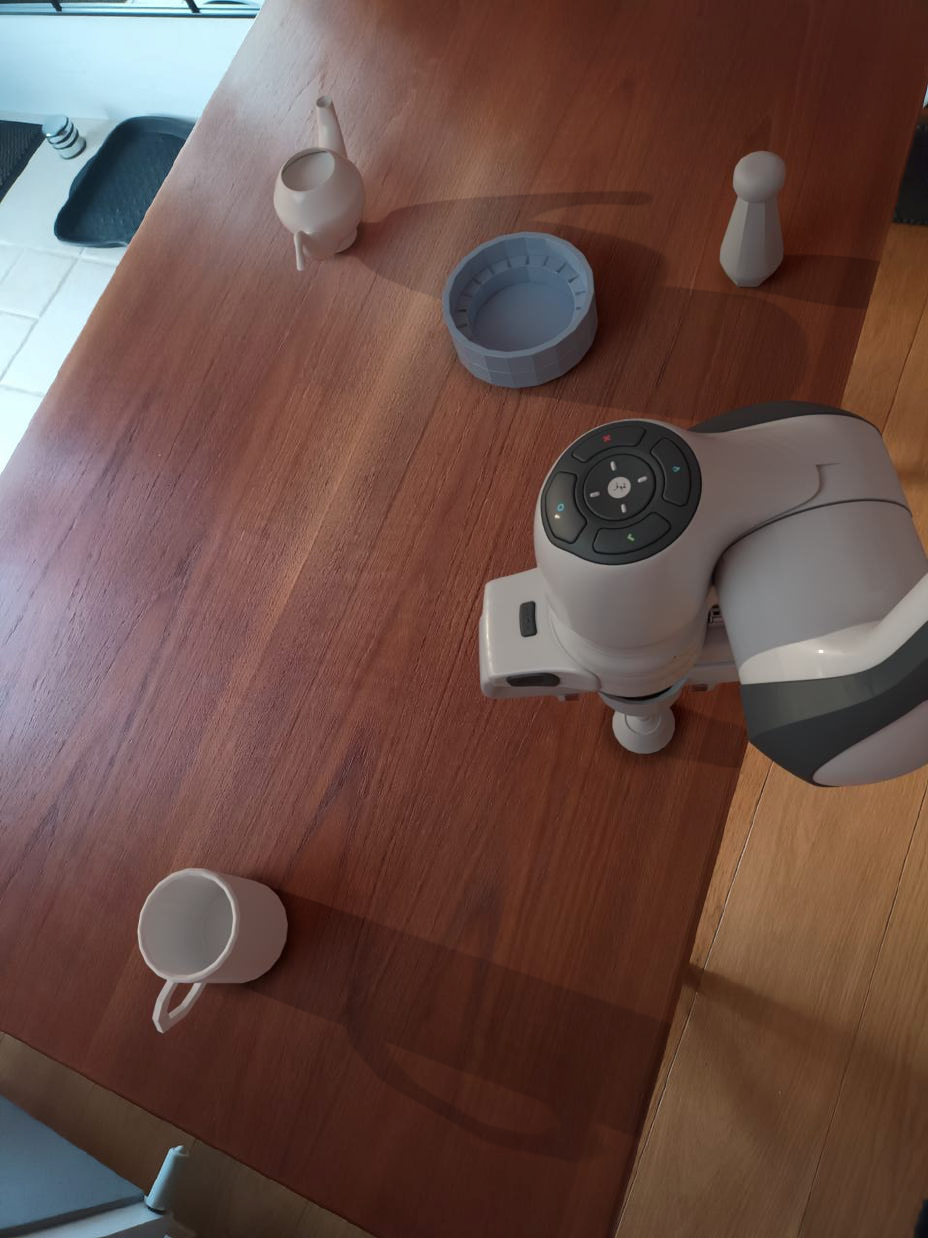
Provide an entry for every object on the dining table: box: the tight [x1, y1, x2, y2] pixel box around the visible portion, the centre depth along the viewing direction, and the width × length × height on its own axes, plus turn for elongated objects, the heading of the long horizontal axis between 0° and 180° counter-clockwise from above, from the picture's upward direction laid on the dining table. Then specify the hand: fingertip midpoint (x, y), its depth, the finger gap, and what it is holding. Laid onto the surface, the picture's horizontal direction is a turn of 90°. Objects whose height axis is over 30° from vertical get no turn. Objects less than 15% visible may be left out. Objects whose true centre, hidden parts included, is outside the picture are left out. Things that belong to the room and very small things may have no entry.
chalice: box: [597, 678, 688, 755], centre depth 70 cm, size 7×7×18 cm
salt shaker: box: [719, 150, 787, 288], centre depth 86 cm, size 6×6×13 cm
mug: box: [137, 867, 289, 1034], centre depth 74 cm, size 8×12×10 cm
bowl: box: [441, 230, 599, 389], centre depth 92 cm, size 14×14×6 cm
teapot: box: [272, 95, 366, 272], centre depth 100 cm, size 10×20×9 cm, turn 173°
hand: (634, 685), depth 68 cm, fingers open, 8 cm apart
